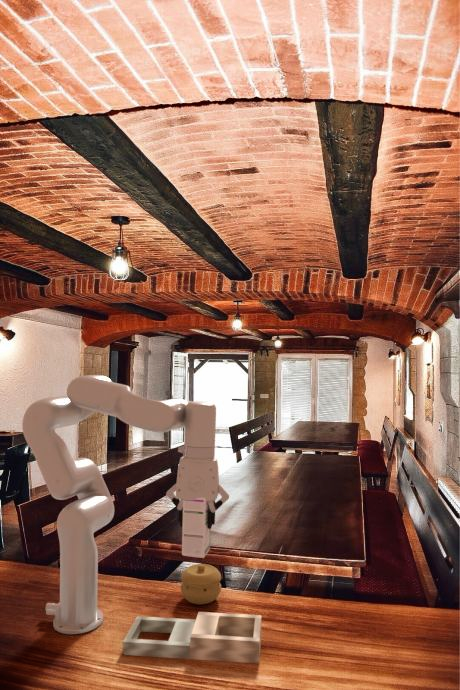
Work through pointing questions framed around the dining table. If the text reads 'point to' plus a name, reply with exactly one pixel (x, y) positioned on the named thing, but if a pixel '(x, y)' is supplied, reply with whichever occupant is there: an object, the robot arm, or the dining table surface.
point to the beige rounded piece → (201, 583)
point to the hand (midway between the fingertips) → (196, 525)
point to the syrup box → (195, 528)
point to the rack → (199, 637)
